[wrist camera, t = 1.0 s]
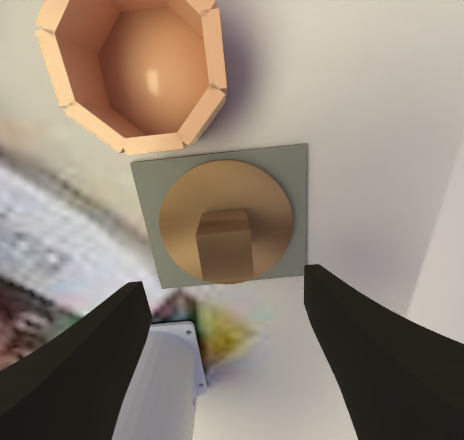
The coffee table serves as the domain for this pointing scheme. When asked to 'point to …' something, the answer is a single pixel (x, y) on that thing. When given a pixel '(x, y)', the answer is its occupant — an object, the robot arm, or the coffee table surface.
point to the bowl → (136, 68)
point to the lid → (225, 221)
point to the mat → (268, 159)
